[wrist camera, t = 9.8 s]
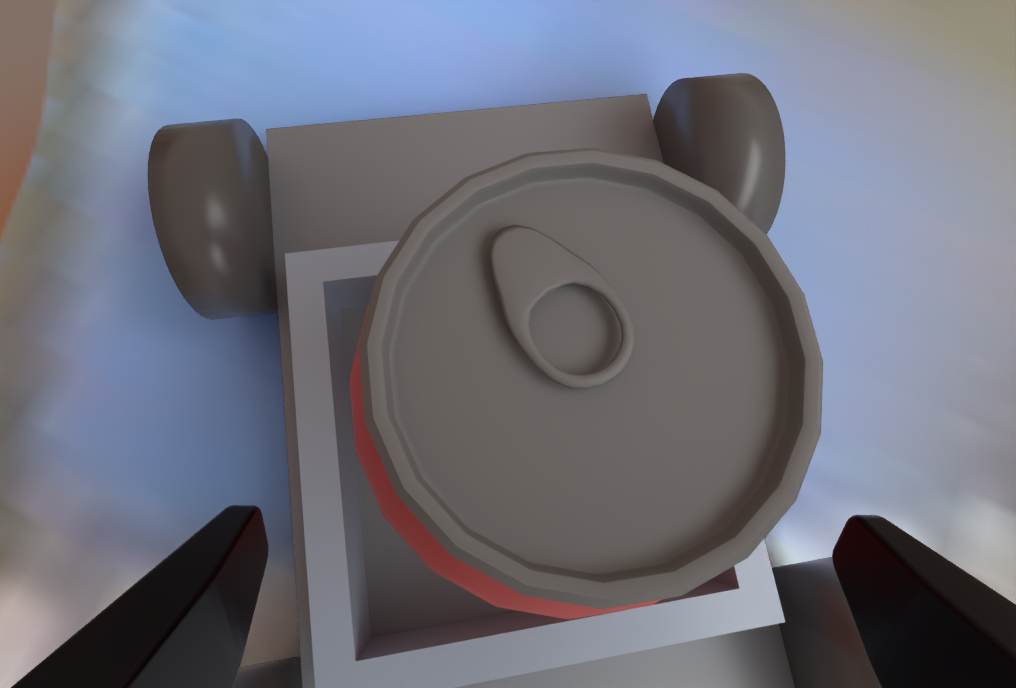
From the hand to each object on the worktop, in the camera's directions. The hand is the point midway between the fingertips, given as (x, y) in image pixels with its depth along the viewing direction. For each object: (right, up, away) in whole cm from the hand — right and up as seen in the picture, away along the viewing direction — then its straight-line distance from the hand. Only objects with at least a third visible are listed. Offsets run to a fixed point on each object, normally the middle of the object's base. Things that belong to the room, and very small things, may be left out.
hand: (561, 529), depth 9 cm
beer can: (-1, 0, +10) cm, 10 cm away
